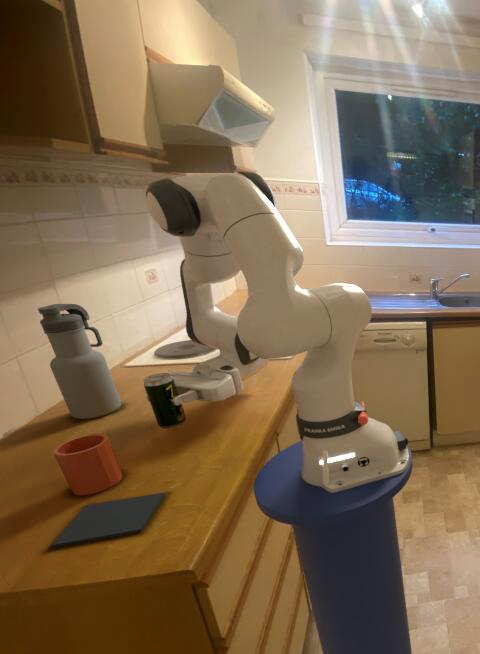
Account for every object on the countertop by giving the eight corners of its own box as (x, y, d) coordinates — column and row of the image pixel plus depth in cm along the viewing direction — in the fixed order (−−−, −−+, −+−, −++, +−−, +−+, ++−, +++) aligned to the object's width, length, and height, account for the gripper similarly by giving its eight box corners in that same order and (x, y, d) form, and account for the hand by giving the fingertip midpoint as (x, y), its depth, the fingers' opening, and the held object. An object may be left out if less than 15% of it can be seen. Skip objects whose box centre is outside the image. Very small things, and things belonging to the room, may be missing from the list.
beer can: (156, 431, 99) (138, 383, 94) (162, 421, 103) (146, 374, 99) (184, 426, 101) (168, 379, 96) (189, 416, 105) (174, 371, 101)
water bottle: (96, 401, 117) (55, 300, 106) (133, 401, 117) (96, 300, 106) (60, 420, 108) (12, 310, 97) (100, 420, 108) (56, 311, 97)
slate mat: (165, 495, 82) (164, 492, 82) (141, 532, 73) (140, 529, 73) (87, 507, 79) (86, 504, 78) (52, 548, 70) (51, 545, 70)
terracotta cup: (129, 469, 89) (114, 431, 86) (111, 491, 83) (94, 451, 79) (85, 475, 87) (68, 437, 84) (63, 498, 81) (43, 458, 77)
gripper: (176, 362, 112) (121, 383, 100) (242, 369, 108) (193, 392, 95) (183, 384, 115) (130, 408, 102) (248, 392, 110) (200, 417, 98)
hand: (161, 400), depth 99 cm, fingers closed on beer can, 5 cm apart
